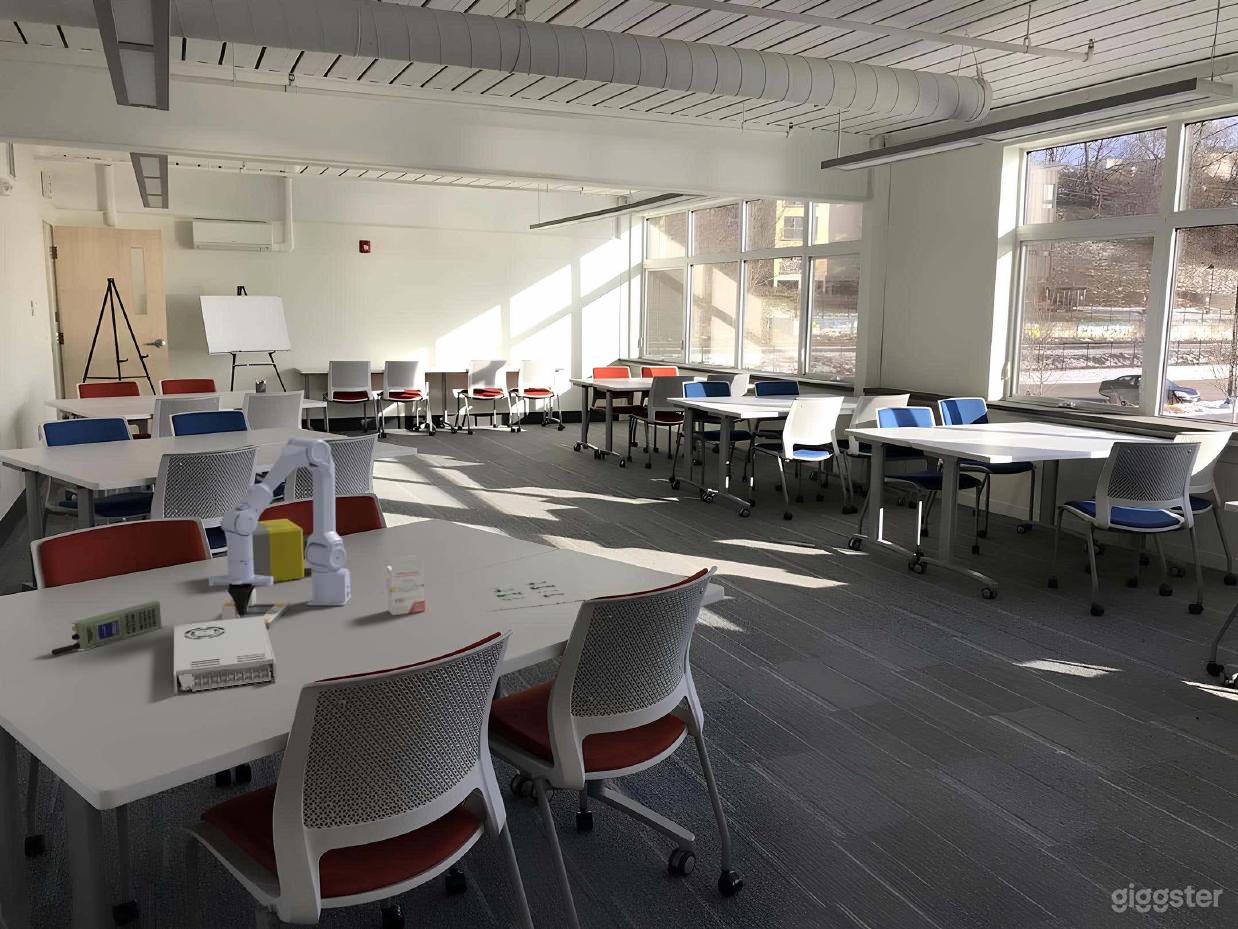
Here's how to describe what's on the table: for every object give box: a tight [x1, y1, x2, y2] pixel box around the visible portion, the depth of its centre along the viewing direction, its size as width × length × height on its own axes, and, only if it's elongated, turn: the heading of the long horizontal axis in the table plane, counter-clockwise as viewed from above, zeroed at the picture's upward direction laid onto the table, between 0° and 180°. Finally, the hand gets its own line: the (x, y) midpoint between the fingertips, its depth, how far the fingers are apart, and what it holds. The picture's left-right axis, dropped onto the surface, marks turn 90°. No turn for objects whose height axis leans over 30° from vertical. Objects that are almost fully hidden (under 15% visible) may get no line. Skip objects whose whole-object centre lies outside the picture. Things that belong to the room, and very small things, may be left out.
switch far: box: [248, 588, 257, 606], centre depth 238 cm, size 3×3×4 cm
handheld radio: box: [51, 600, 163, 656], centre depth 214 cm, size 7×3×25 cm
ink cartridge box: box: [386, 555, 426, 616], centre depth 240 cm, size 9×5×15 cm, turn 116°
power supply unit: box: [173, 616, 278, 694], centre depth 203 cm, size 19×33×5 cm, turn 25°
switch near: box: [221, 601, 240, 620], centre depth 226 cm, size 3×3×4 cm
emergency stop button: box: [252, 518, 312, 583], centre depth 272 cm, size 15×24×15 cm, turn 124°
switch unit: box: [212, 602, 290, 629], centre depth 233 cm, size 14×16×2 cm
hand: (242, 614), depth 227 cm, fingers closed
